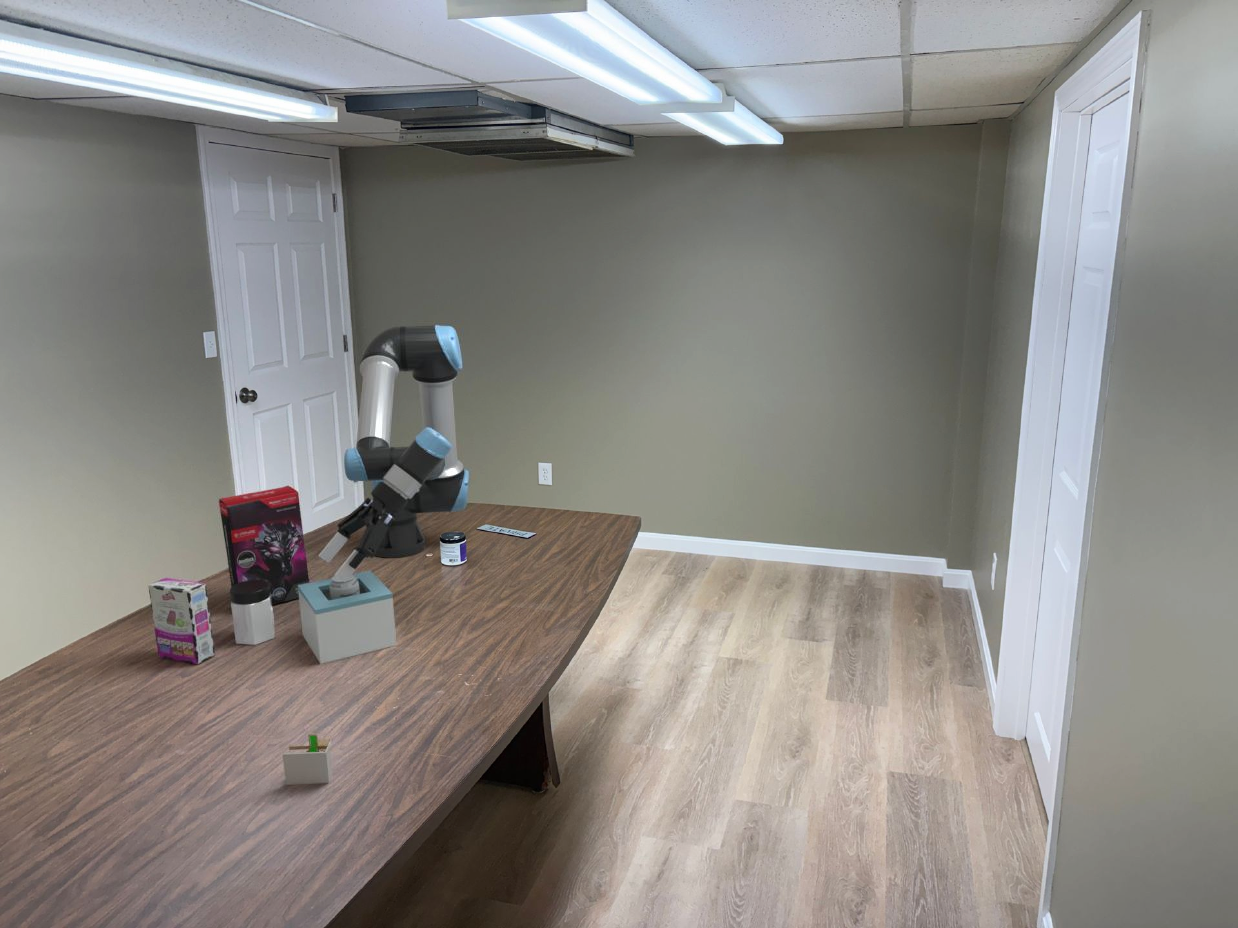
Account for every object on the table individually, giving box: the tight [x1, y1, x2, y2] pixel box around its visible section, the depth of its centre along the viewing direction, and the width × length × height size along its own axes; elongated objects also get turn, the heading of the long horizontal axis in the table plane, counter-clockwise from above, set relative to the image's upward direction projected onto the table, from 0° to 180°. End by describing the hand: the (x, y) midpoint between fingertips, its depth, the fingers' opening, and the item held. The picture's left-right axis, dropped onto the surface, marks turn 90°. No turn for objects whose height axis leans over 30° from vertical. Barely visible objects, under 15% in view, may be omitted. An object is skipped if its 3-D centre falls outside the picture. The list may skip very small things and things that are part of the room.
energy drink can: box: [330, 573, 360, 600], centre depth 189 cm, size 6×6×15 cm
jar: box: [229, 580, 276, 646], centre depth 192 cm, size 9×8×12 cm
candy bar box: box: [147, 577, 216, 665], centre depth 182 cm, size 11×5×16 cm, turn 70°
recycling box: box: [298, 570, 397, 665], centre depth 190 cm, size 16×16×12 cm
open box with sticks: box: [282, 733, 334, 786], centre depth 141 cm, size 4×7×8 cm, turn 93°
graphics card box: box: [218, 485, 310, 606], centre depth 209 cm, size 17×7×27 cm, turn 131°
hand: (331, 568), depth 186 cm, fingers open, 13 cm apart
